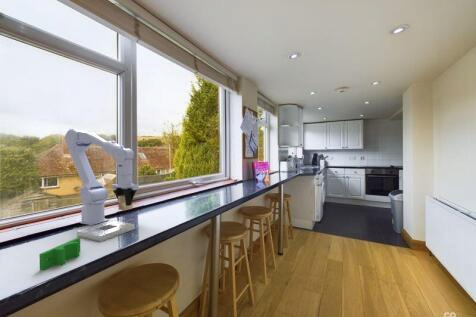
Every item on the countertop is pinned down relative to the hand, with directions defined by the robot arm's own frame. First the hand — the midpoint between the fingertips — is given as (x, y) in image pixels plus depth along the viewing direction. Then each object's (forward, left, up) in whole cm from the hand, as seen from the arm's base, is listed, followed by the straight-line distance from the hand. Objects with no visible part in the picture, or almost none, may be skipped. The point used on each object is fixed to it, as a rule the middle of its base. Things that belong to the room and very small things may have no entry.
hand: (125, 205), depth 94 cm
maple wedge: (0, 0, -2) cm, 2 cm away
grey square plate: (+3, -11, -8) cm, 14 cm away
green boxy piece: (+14, -30, -9) cm, 35 cm away
